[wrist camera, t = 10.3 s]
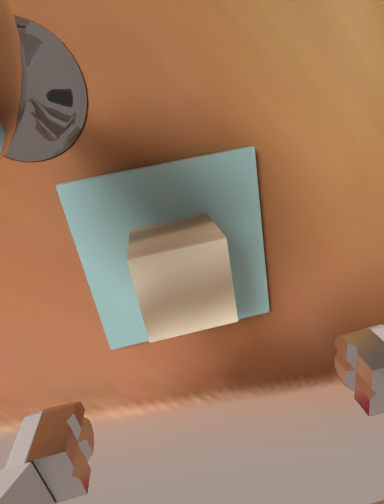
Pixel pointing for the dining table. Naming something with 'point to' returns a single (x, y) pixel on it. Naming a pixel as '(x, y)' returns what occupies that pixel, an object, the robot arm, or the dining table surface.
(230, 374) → the dining table surface
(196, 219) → the cube
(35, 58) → the wine glass
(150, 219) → the pad
